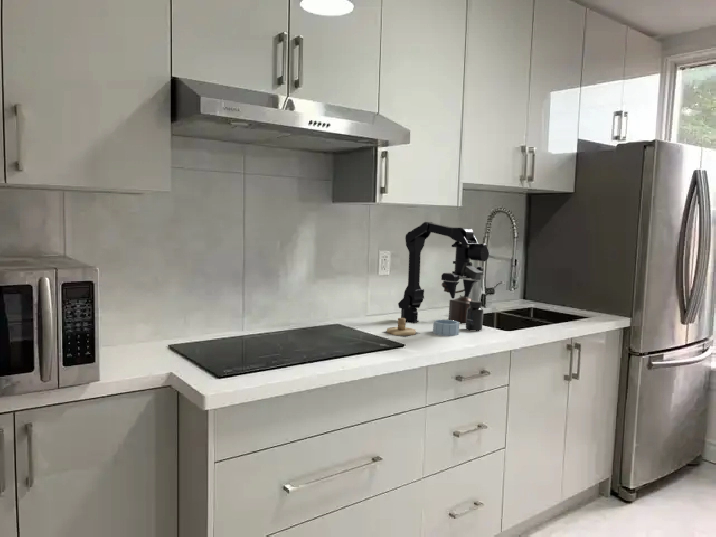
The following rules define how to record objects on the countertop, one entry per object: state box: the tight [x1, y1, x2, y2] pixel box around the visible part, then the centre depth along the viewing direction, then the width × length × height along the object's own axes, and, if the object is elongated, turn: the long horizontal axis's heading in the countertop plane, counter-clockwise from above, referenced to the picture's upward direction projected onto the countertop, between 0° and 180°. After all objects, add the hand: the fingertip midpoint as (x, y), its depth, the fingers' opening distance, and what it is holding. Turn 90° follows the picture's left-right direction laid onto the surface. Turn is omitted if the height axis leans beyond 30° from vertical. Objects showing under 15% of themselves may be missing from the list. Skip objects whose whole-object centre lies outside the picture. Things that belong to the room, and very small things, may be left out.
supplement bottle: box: [465, 300, 484, 332], centre depth 228 cm, size 7×7×12 cm
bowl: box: [432, 319, 460, 337], centre depth 216 cm, size 10×10×5 cm
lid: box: [386, 317, 417, 337], centre depth 213 cm, size 11×11×6 cm
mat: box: [381, 330, 421, 338], centre depth 214 cm, size 11×11×1 cm
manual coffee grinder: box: [441, 281, 475, 324], centre depth 247 cm, size 16×11×18 cm
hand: (460, 297), depth 221 cm, fingers open, 9 cm apart
